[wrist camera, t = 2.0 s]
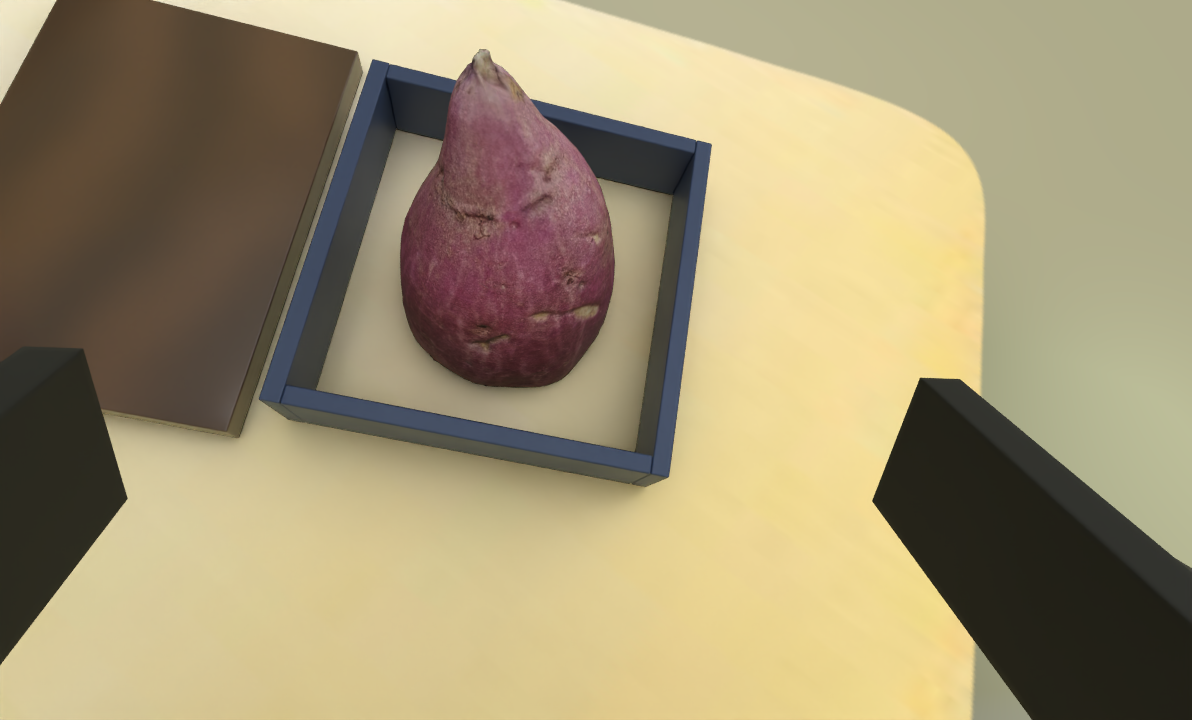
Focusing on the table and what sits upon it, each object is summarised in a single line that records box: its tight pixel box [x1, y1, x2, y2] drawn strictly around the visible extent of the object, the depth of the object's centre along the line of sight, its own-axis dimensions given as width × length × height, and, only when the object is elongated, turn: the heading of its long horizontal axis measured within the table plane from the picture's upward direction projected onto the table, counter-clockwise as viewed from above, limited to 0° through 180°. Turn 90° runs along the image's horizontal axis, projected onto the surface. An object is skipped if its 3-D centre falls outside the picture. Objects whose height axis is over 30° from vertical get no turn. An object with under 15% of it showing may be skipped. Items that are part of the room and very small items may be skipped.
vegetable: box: [400, 49, 615, 387], centre depth 27 cm, size 10×10×15 cm
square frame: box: [259, 59, 712, 487], centre depth 31 cm, size 17×17×4 cm
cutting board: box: [0, 0, 363, 438], centre depth 30 cm, size 14×20×2 cm
